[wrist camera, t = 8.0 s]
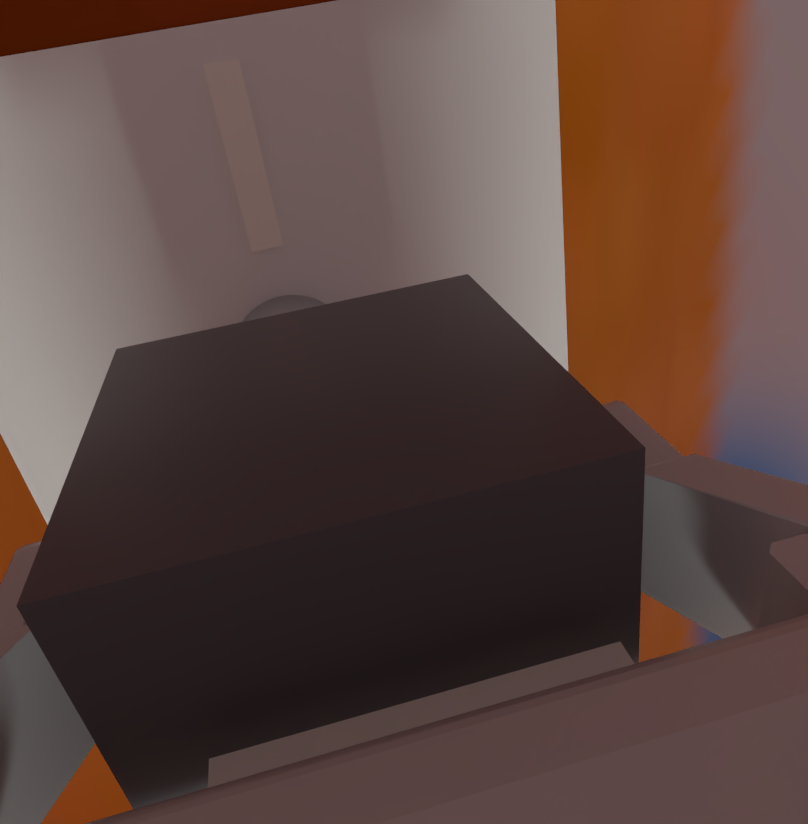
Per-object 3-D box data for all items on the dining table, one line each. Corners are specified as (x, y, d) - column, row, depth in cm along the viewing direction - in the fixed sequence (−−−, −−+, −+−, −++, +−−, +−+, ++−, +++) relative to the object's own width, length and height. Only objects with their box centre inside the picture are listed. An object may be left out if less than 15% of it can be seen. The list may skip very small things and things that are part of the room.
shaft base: (110, 598, 18) (75, 764, 14) (-143, 83, 12) (-341, 103, 8) (554, 482, 19) (642, 600, 15) (528, -31, 13) (662, -63, 9)
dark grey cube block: (116, 348, 9) (4, 635, 5) (467, 274, 10) (664, 466, 5) (217, 612, 12) (207, 968, 7) (495, 540, 12) (646, 828, 8)
